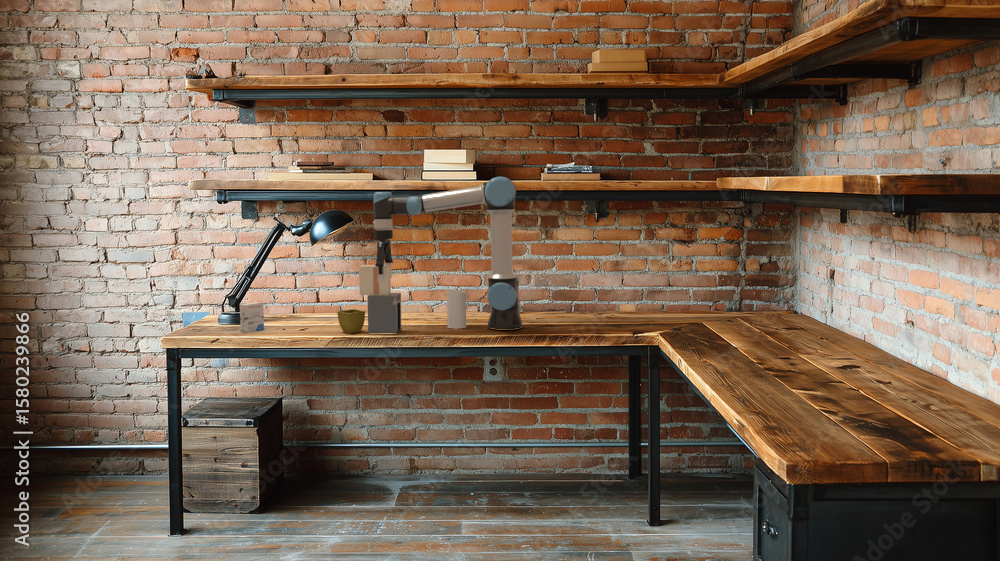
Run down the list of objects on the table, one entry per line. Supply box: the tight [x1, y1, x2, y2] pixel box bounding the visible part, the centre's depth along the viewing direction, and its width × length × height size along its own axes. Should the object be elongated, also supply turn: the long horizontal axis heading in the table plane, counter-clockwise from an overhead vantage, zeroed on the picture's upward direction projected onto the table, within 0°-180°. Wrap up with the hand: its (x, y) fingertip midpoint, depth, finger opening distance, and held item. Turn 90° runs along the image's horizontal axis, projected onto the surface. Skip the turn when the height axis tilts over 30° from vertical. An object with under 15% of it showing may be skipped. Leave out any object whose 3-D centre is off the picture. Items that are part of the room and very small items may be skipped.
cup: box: [446, 289, 467, 330], centre depth 319 cm, size 8×8×16 cm
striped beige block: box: [358, 264, 392, 296], centre depth 307 cm, size 12×5×12 cm, turn 87°
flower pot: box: [336, 308, 366, 334], centre depth 309 cm, size 9×9×9 cm
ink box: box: [239, 301, 265, 333], centre depth 312 cm, size 9×5×12 cm, turn 141°
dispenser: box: [367, 292, 402, 335], centre depth 309 cm, size 12×10×16 cm
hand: (384, 280), depth 307 cm, fingers open, 13 cm apart
